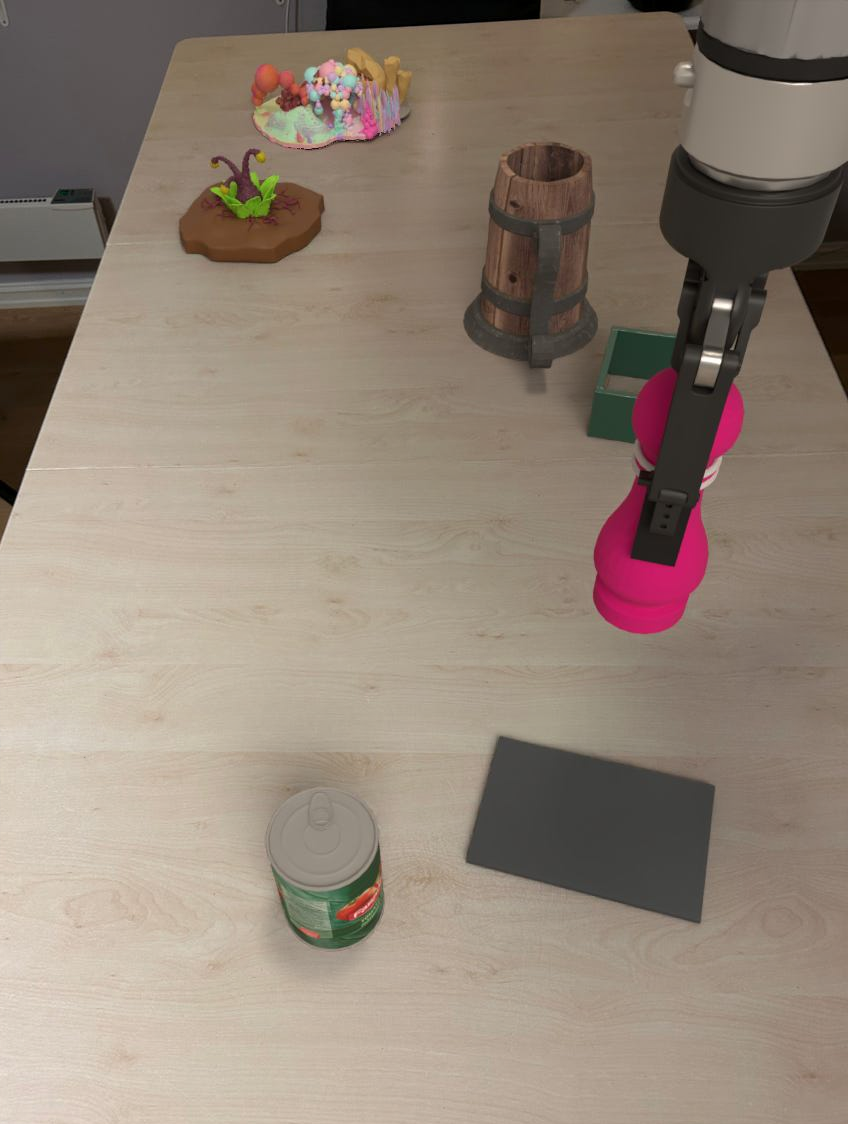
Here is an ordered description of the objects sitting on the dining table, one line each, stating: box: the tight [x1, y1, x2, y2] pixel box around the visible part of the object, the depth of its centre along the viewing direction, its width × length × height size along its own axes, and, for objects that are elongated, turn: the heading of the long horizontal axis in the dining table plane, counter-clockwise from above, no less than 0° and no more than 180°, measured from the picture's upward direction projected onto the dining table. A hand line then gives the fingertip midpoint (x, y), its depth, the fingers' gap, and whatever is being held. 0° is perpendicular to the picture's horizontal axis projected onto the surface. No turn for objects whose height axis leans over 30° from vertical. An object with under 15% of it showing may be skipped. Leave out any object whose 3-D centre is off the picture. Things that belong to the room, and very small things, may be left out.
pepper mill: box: [592, 367, 745, 635], centre depth 59 cm, size 7×7×20 cm
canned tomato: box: [264, 785, 386, 952], centre depth 71 cm, size 8×8×11 cm
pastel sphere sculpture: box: [250, 46, 413, 150], centre depth 157 cm, size 25×24×9 cm
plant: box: [178, 147, 326, 264], centre depth 135 cm, size 20×20×11 cm
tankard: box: [463, 141, 599, 370], centre depth 112 cm, size 24×17×20 cm
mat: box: [465, 735, 716, 924], centre depth 78 cm, size 18×12×1 cm, turn 73°
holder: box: [587, 325, 677, 444], centre depth 108 cm, size 13×13×6 cm
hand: (659, 525), depth 61 cm, fingers closed on pepper mill, 5 cm apart
